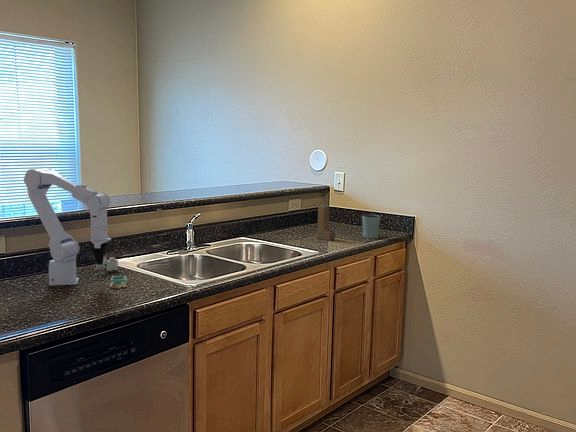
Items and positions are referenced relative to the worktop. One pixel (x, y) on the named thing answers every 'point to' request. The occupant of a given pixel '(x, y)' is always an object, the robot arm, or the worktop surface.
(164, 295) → the worktop surface
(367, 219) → the drinking glass
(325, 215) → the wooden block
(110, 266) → the grey lever block
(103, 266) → the pin
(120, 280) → the pin board
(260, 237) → the worktop surface
